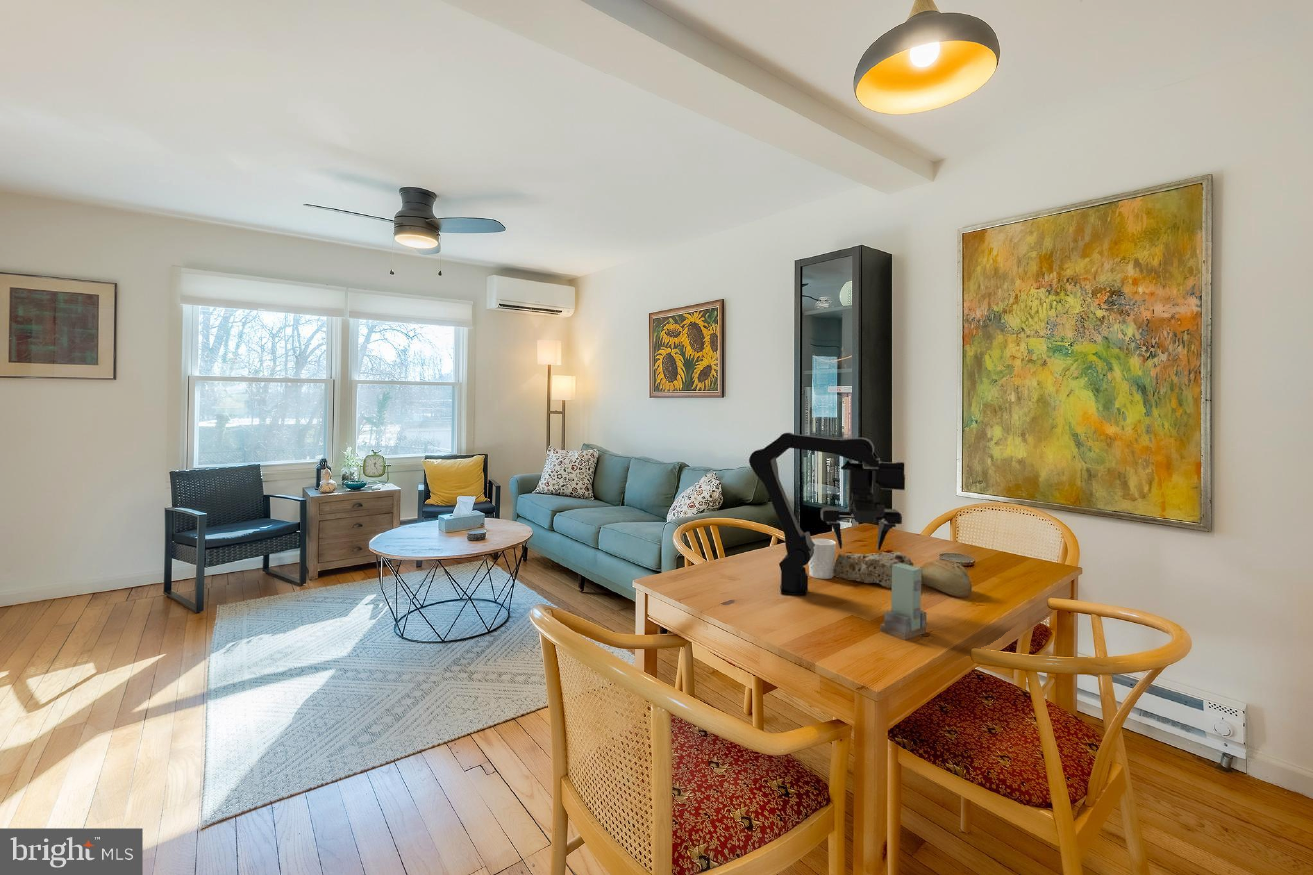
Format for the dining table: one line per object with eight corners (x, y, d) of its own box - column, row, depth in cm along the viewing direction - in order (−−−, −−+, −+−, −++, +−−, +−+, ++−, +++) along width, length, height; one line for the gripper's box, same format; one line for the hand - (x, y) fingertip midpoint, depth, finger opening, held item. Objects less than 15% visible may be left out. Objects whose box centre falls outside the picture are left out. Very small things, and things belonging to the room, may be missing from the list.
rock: (827, 581, 165) (828, 546, 167) (851, 582, 175) (851, 549, 177) (899, 589, 151) (899, 550, 153) (920, 590, 161) (920, 553, 163)
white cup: (805, 571, 172) (806, 538, 171) (833, 572, 171) (833, 538, 170) (808, 579, 164) (809, 544, 163) (837, 580, 163) (838, 545, 162)
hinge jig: (880, 630, 126) (880, 610, 126) (901, 623, 130) (901, 604, 130) (904, 640, 121) (905, 619, 121) (926, 632, 125) (926, 612, 125)
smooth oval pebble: (931, 580, 163) (932, 552, 162) (981, 596, 149) (982, 565, 149) (907, 585, 159) (908, 556, 158) (957, 601, 145) (958, 570, 145)
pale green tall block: (890, 623, 126) (892, 565, 126) (899, 620, 128) (900, 563, 127) (913, 631, 122) (914, 571, 121) (921, 628, 124) (923, 568, 123)
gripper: (826, 491, 138) (825, 555, 139) (908, 493, 135) (906, 559, 136) (820, 485, 149) (820, 544, 150) (896, 487, 146) (895, 547, 147)
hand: (859, 549), depth 146 cm, fingers open, 9 cm apart
